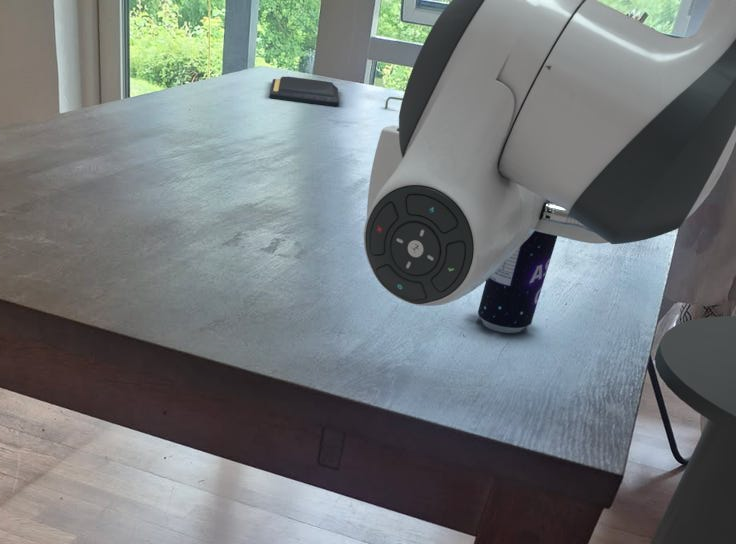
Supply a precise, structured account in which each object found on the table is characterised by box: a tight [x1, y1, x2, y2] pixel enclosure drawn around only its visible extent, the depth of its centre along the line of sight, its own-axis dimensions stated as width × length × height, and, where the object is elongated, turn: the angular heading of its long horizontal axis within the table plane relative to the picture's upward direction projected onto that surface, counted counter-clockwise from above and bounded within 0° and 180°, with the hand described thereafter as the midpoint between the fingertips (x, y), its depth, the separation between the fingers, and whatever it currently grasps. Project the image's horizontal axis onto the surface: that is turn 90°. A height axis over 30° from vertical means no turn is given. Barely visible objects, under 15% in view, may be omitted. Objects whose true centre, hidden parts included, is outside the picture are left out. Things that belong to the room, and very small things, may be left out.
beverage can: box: [477, 231, 558, 334], centre depth 89 cm, size 6×6×12 cm
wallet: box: [269, 76, 340, 107], centre depth 190 cm, size 20×2×15 cm
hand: (523, 168), depth 74 cm, fingers open, 8 cm apart
